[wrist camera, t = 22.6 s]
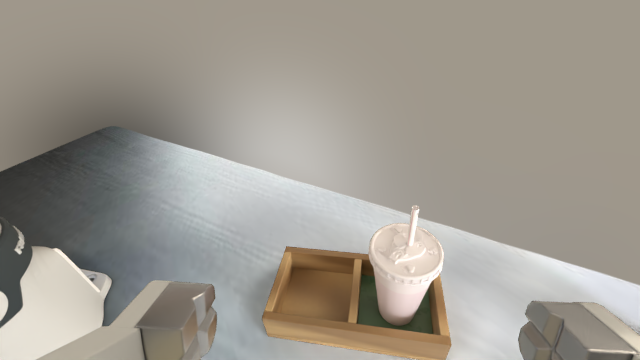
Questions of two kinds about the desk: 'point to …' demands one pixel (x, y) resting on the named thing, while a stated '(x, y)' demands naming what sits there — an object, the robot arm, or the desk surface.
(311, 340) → the tray
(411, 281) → the smoothie
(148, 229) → the desk surface
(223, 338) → the desk surface
